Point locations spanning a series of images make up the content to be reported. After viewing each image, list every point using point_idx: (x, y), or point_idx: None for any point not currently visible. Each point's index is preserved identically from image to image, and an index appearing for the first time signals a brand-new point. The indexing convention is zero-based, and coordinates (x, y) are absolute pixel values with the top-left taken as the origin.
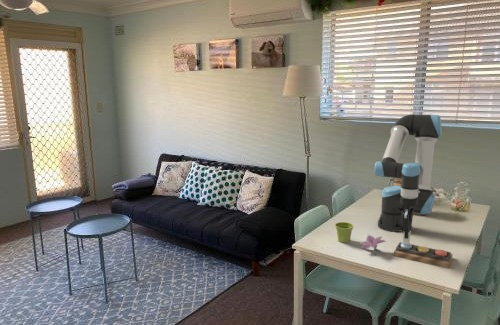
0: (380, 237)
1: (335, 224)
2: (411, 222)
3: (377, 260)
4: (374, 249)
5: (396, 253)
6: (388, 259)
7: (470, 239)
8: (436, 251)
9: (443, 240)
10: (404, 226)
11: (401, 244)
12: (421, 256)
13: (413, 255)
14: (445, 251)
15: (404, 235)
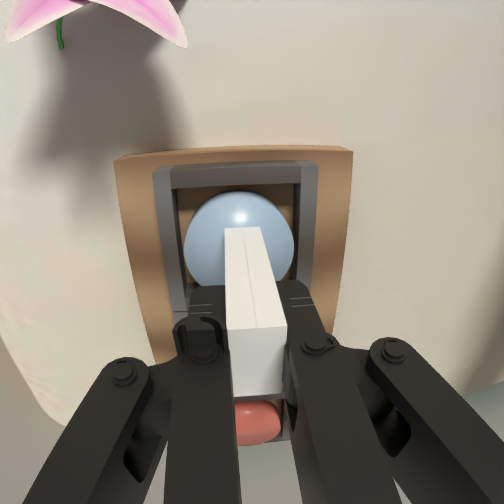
0: (22, 24)
1: None
2: (393, 475)
3: (2, 101)
4: (58, 20)
5: (119, 183)
6: (50, 149)
7: (490, 381)
8: (237, 419)
9: (485, 330)
10: (66, 470)
11: (220, 210)
12: (174, 346)
13: (152, 306)
14: (266, 439)
15: (224, 296)
